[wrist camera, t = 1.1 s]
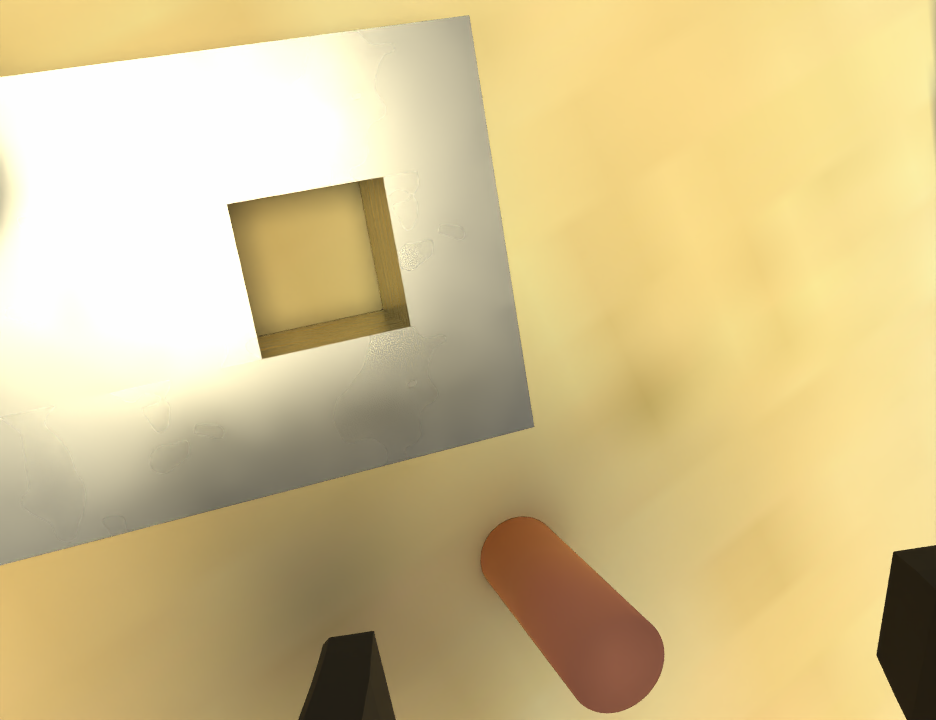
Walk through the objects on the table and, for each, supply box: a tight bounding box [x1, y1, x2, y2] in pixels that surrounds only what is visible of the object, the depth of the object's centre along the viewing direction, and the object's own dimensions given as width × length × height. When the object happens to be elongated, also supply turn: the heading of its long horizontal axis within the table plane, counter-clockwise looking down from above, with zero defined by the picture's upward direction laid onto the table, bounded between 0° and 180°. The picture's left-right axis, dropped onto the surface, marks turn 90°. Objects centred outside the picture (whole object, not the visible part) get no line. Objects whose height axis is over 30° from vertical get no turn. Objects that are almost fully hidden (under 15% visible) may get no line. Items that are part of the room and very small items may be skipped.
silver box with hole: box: [0, 15, 534, 565], centre depth 17 cm, size 9×14×7 cm, turn 100°
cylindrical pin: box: [481, 517, 664, 713], centre depth 21 cm, size 2×2×6 cm
